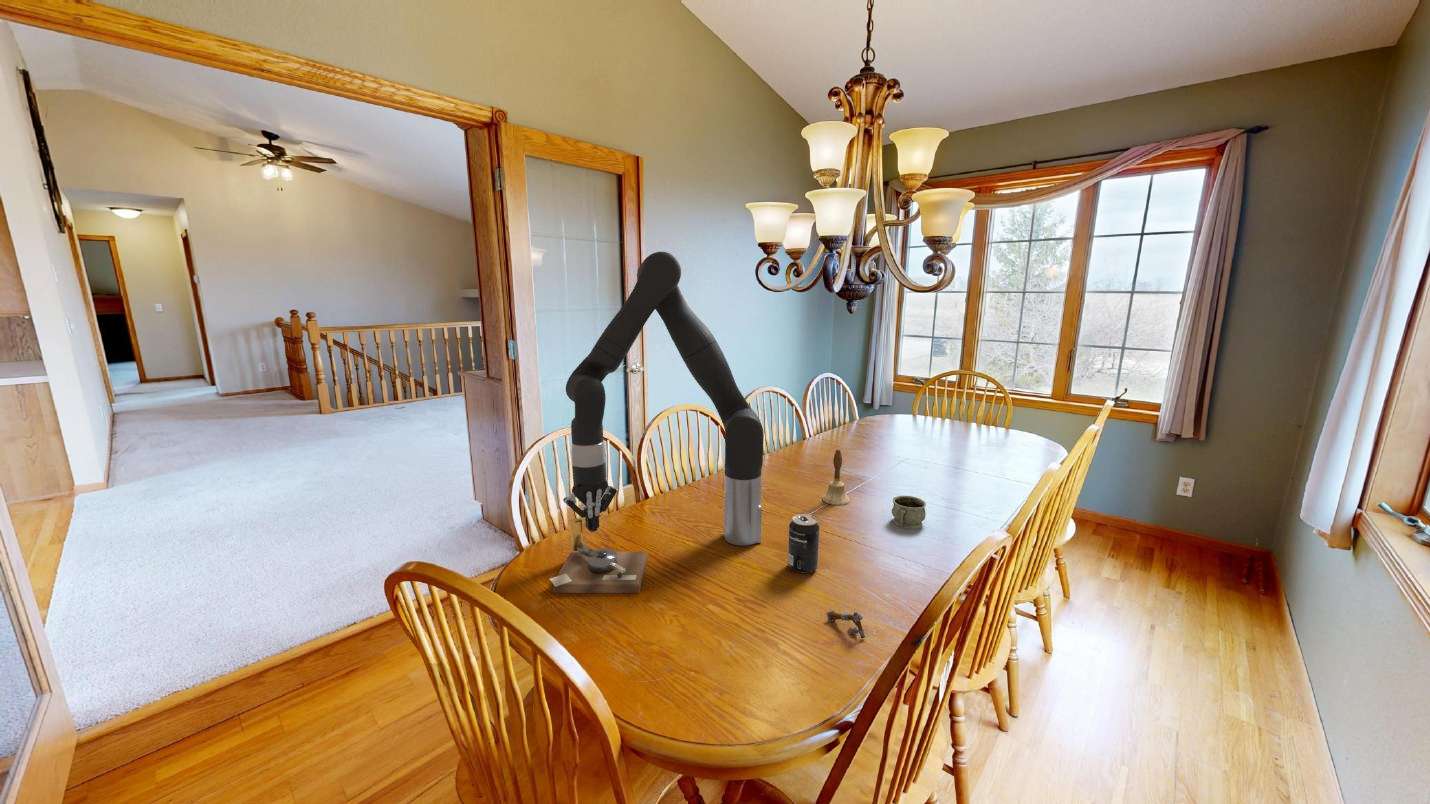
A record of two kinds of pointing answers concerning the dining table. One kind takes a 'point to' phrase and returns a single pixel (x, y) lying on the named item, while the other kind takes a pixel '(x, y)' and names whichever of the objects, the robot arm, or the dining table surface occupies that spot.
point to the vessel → (908, 511)
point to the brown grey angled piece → (847, 617)
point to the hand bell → (836, 485)
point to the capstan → (593, 551)
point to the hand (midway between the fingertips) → (592, 530)
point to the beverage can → (803, 543)
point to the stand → (601, 575)
